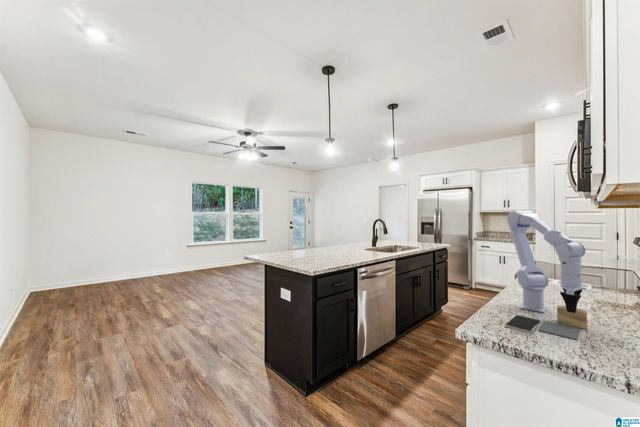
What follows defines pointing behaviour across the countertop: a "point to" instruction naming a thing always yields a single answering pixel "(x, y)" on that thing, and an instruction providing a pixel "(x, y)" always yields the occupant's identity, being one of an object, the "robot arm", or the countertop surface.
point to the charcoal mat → (559, 329)
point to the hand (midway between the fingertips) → (571, 309)
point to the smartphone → (523, 323)
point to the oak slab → (572, 317)
